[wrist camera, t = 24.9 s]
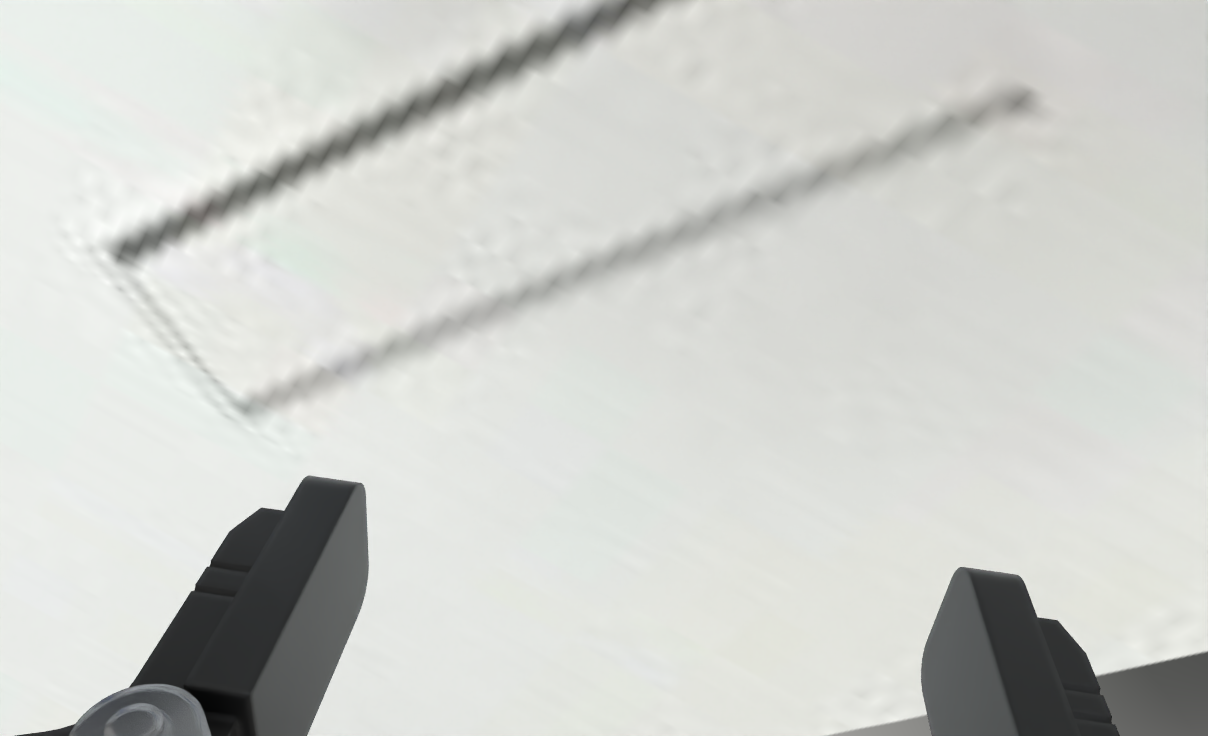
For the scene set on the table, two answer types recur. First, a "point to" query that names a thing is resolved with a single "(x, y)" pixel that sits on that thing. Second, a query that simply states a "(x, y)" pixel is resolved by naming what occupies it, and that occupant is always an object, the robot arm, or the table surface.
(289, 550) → the robot arm
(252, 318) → the table surface
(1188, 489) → the table surface
